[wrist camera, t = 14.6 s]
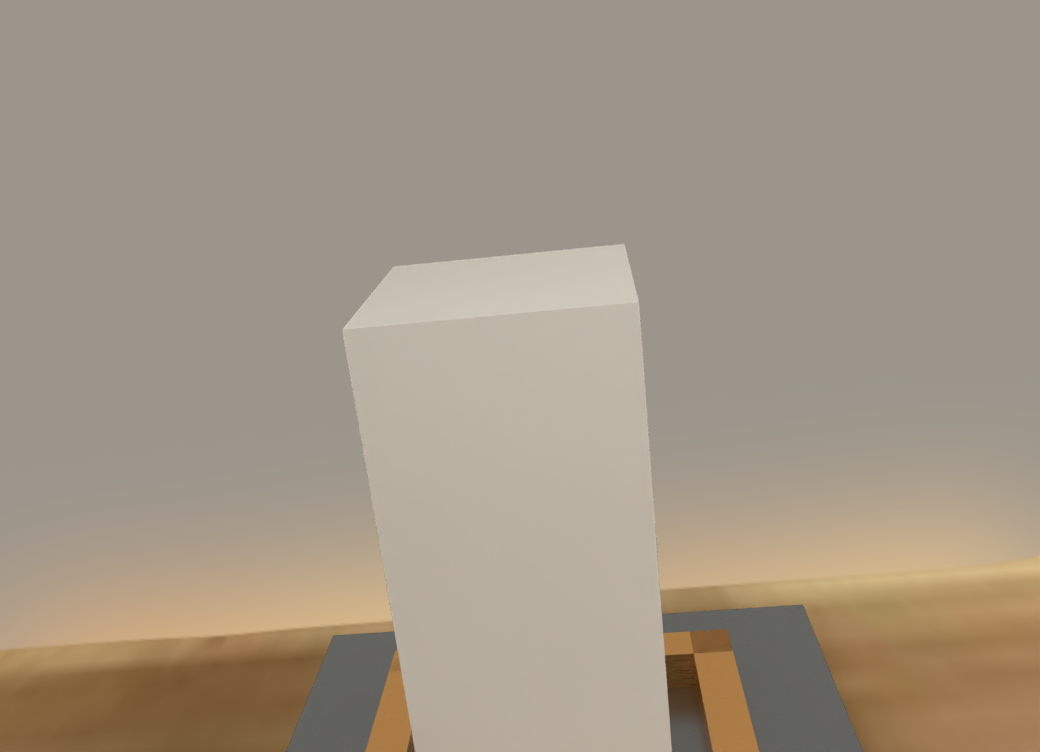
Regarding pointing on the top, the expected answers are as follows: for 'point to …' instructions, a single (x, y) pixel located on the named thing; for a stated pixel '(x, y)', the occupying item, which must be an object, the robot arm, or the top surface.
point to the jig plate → (690, 684)
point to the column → (515, 500)
